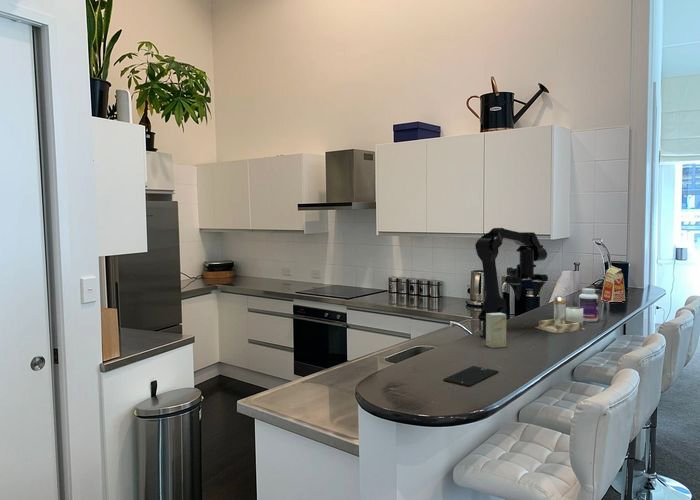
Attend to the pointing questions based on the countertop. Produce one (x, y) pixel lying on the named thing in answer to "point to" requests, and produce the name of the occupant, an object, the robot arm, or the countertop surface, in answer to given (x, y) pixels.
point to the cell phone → (470, 376)
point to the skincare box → (495, 330)
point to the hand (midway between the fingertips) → (526, 299)
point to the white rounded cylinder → (574, 314)
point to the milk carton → (613, 286)
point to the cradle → (559, 326)
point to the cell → (559, 310)
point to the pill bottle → (589, 304)
